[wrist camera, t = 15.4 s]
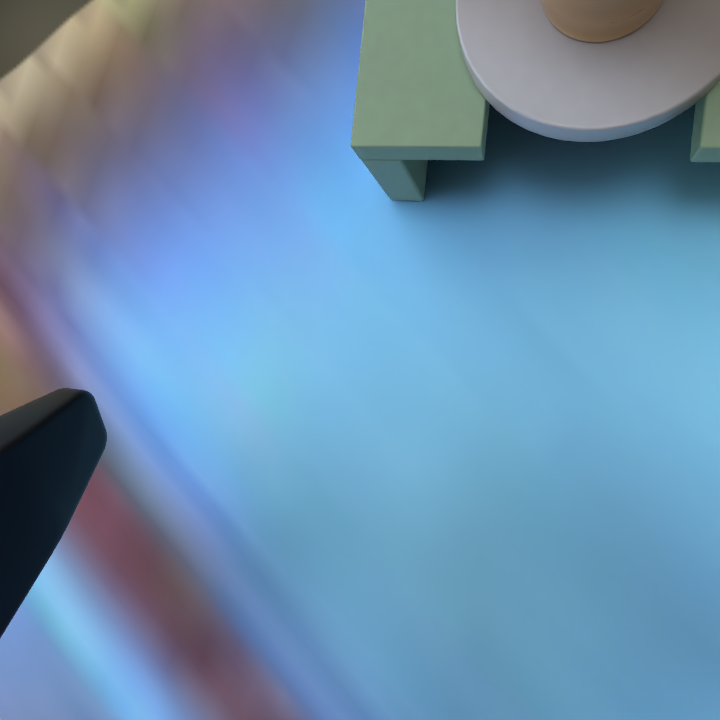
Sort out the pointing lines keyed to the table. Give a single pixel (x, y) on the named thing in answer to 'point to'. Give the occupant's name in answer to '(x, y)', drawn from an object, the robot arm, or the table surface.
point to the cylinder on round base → (590, 62)
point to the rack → (439, 98)
